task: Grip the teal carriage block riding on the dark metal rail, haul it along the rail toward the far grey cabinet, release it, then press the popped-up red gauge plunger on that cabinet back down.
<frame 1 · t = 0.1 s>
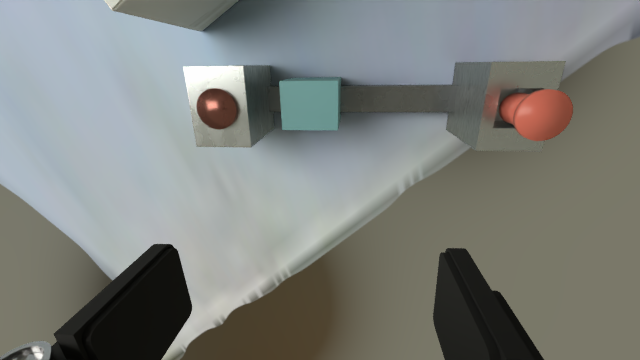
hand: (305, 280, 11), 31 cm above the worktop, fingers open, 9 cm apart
carriage: (313, 101, 34), point 4 cm above the worktop, slide at 0.0 cm
rail: (358, 97, 38), on the worktop
gauge plunger: (528, 111, 26), point 12 cm above the worktop, slide at 3.0 cm
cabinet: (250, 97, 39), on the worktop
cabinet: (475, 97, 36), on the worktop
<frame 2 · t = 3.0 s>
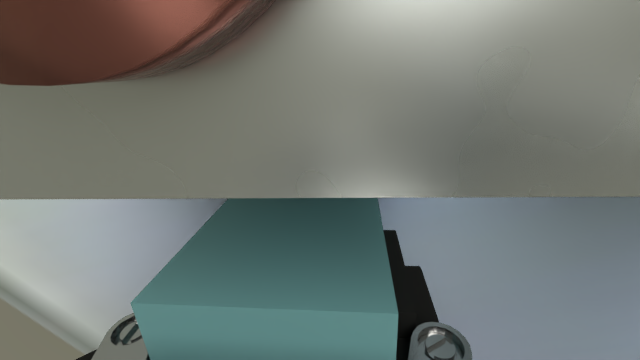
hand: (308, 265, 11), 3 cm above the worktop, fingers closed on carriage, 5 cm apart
carriage: (302, 290, 10), point 4 cm above the worktop, slide at 0.0 cm, touching gripper
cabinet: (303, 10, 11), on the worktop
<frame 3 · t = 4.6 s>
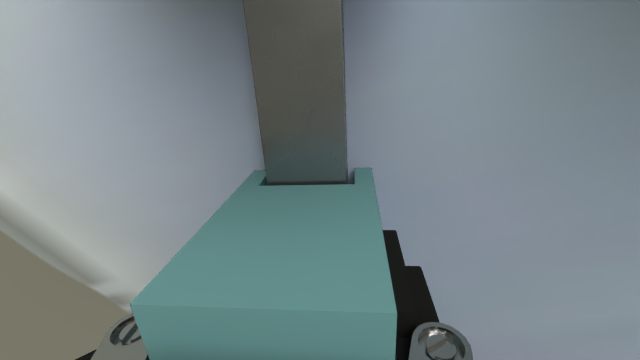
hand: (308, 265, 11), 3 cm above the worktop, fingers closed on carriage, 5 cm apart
carriage: (302, 290, 10), point 4 cm above the worktop, slide at 7.5 cm, touching gripper
rail: (314, 182, 13), on the worktop
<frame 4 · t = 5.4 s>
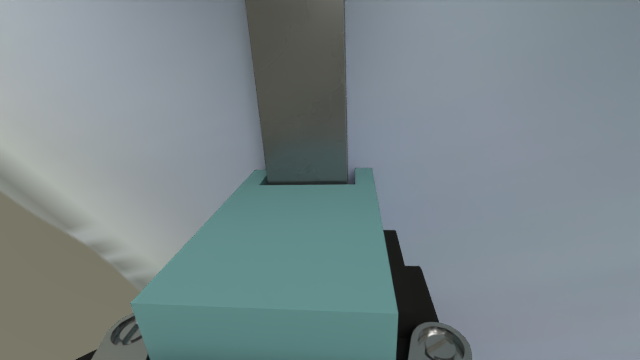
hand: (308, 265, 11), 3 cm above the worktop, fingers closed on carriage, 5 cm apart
carriage: (302, 290, 10), point 4 cm above the worktop, slide at 10.9 cm, touching gripper
rail: (309, 102, 12), on the worktop
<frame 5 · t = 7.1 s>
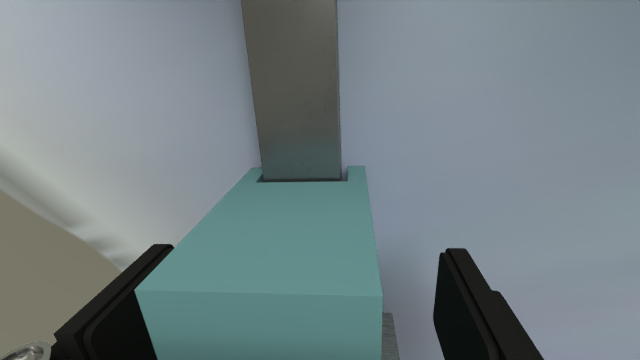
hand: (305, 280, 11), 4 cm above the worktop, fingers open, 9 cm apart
carriage: (297, 282, 10), point 4 cm above the worktop, slide at 11.0 cm
rail: (303, 102, 12), on the worktop
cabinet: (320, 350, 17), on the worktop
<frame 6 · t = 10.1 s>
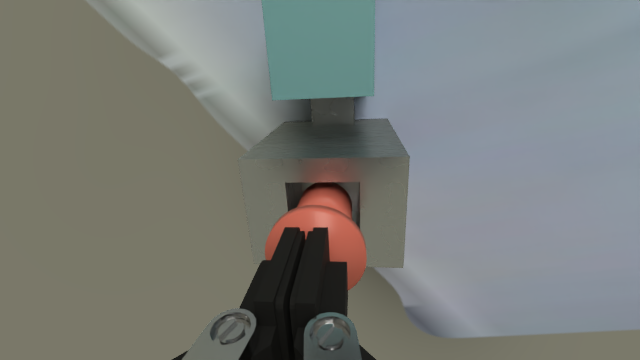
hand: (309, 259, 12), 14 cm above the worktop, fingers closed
carriage: (326, 37, 17), point 4 cm above the worktop, slide at 11.0 cm
gauge plunger: (321, 227, 14), point 11 cm above the worktop, slide at 2.4 cm, touching gripper
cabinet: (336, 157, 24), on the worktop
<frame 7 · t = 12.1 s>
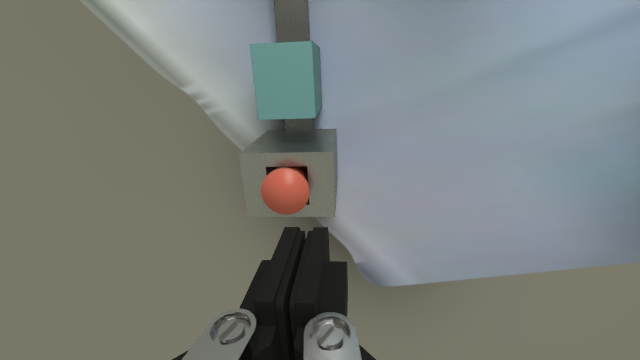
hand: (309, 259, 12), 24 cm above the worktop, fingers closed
carriage: (291, 80, 28), point 4 cm above the worktop, slide at 11.0 cm
rail: (294, 19, 30), on the worktop
gauge plunger: (289, 182, 27), point 9 cm above the worktop, slide at 0.4 cm
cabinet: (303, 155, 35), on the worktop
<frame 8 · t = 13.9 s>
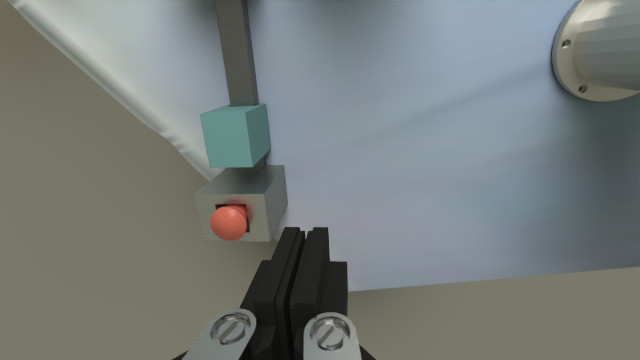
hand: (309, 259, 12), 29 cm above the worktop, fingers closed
carriage: (239, 133, 36), point 4 cm above the worktop, slide at 11.0 cm
rail: (244, 82, 38), on the worktop
gauge plunger: (235, 215, 35), point 9 cm above the worktop, slide at 0.4 cm
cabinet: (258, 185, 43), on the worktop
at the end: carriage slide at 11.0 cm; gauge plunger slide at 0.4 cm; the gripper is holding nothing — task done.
